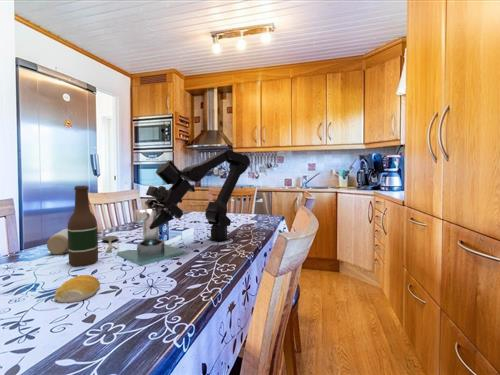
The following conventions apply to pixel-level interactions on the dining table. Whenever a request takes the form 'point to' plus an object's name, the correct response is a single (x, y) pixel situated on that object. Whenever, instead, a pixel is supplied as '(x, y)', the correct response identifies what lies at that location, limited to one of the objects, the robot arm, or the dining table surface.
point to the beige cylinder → (58, 242)
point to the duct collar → (150, 253)
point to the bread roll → (77, 289)
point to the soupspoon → (109, 238)
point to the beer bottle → (82, 231)
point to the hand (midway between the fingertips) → (146, 227)
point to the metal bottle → (147, 225)
